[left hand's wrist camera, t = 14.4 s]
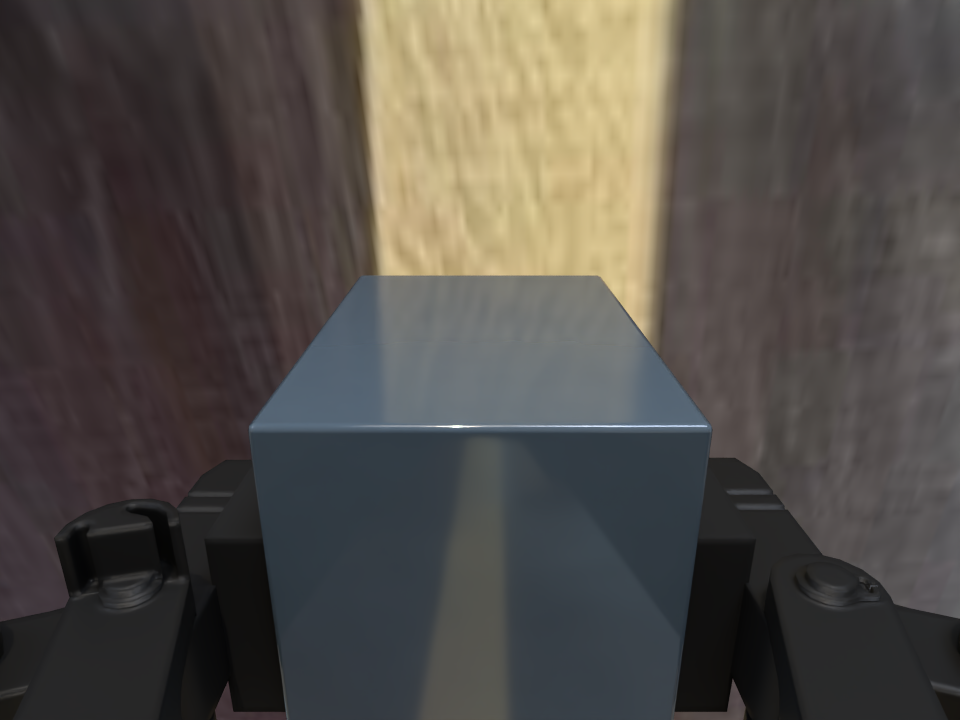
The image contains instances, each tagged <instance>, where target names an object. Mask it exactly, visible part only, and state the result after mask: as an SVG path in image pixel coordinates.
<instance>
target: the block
mask: <svg viewBox="0 0 960 720" xmlns="http://www.w3.org/2000/svg"><path fill="white" fill-rule="evenodd" d="M248 433H249V441H250V448H251V456H252V463H253V470H254V478H255V485H256V493H257V500H258V508H259V515H260V523H261V530H262V537H263V545H264V552H265V560H266V567H267V575H268V582H269V590H270V597H271V604H272V612H273V619H274V627H275V634H276V642H277V649H278V657H279V664H280V671H281V679H282V686H283V694H284V701H285V709H286V716H287V720H674V713H675V705H676V698H677V690H678V683H679V675H680V668H681V661H682V653H683V646H684V638H685V631H686V623H687V616H688V609H689V601H690V594H691V586H692V579H693V571H694V564H695V557H696V549H697V542H698V534H699V527H700V519H701V512H702V505H703V497H704V490H705V482H706V475H707V467H708V460H709V453H710V445H711V438H712V427H711V424H710V423H709V421H708V420H707V419H706V417H705V416H704V415H703V413H702V412H701V411H700V409H699V408H698V407H697V405H696V404H695V403H694V401H693V400H692V399H691V397H690V396H689V395H688V393H687V392H686V391H685V389H684V388H683V387H682V385H681V384H680V383H679V381H678V380H677V379H676V377H675V376H674V375H673V373H672V372H671V371H670V369H669V368H668V367H667V365H666V364H665V363H664V361H663V360H662V359H661V357H660V356H659V355H658V353H657V352H656V351H655V349H654V348H653V347H652V345H651V344H650V343H649V341H648V340H647V339H646V337H645V336H644V334H643V333H642V332H641V330H640V329H639V328H638V326H637V325H636V324H635V322H634V321H633V320H632V318H631V317H630V316H629V314H628V313H627V312H626V310H625V309H624V308H623V306H622V305H621V304H620V302H619V301H618V300H617V298H616V297H615V296H614V294H613V293H612V292H611V290H610V289H609V288H608V286H607V285H606V284H605V282H604V281H603V280H602V278H601V277H599V276H361V277H359V279H358V280H357V281H356V283H355V284H354V285H353V287H352V288H351V289H350V291H349V292H348V293H347V295H346V296H345V298H344V299H343V300H342V302H341V303H340V304H339V306H338V307H337V308H336V310H335V311H334V312H333V314H332V315H331V316H330V318H329V319H328V320H327V322H326V323H325V324H324V326H323V327H322V328H321V330H320V331H319V332H318V334H317V335H316V336H315V338H314V339H313V340H312V342H311V343H310V344H309V346H308V347H307V348H306V350H305V351H304V352H303V354H302V355H301V357H300V358H299V359H298V361H297V362H296V363H295V365H294V366H293V367H292V369H291V370H290V371H289V373H288V374H287V375H286V377H285V378H284V379H283V381H282V382H281V383H280V385H279V386H278V387H277V389H276V390H275V391H274V393H273V394H272V395H271V397H270V398H269V399H268V401H267V402H266V403H265V405H264V406H263V407H262V409H261V410H260V412H259V413H258V414H257V416H256V417H255V418H254V420H253V421H252V422H251V424H250V425H249V429H248Z"/></svg>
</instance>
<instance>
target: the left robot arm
mask: <svg viewBox="0 0 960 720" xmlns="http://www.w3.org/2000/svg"><path fill="white" fill-rule="evenodd" d="M54 539H55V543H56V547H57V551H58V555H59V558H60V562H61V566H62V570H63V574H64V577H65V581H66V585H67V589H68V593H69V596H70V598H69V600H68V602H67V604H66V607H65V608H61V609H58V610H54V611H50V612H45V613H40V614H36V615H31V616H26V617H21V618H17V619H12V620H7V621H2V622H0V720H217V719H216V714H215V709H216V706H217V704H218V702H219V700H220V697H221V695H222V693H223V691H224V688H225V686H226V684H227V682H229V688H230V694H231V699H232V705H233V711H234V712H286V709H285V701H284V694H283V686H282V679H281V671H280V664H279V657H278V649H277V642H276V634H275V627H274V619H273V612H272V604H271V597H270V590H269V582H268V575H267V567H266V560H265V552H264V545H263V537H262V530H261V523H260V515H259V508H258V500H257V493H256V485H255V478H254V470H253V463H252V460H225V461H224V462H222V463H220V464H219V465H217V466H216V467H214V468H213V469H211V470H209V471H208V472H206V473H205V474H203V475H202V476H201V477H200V478H199V480H198V481H197V482H196V484H195V485H194V486H193V488H192V489H191V490H190V491H189V493H188V497H185V498H184V499H183V500H182V502H181V503H180V504H179V506H178V507H177V508H175V507H173V506H172V505H171V504H170V503H168V502H164V501H159V500H155V499H132V500H126V501H122V502H117V503H112V504H108V505H105V506H102V507H100V508H97V509H95V510H92V511H90V512H87V513H85V514H83V515H81V516H80V517H78V518H77V519H75V520H73V521H72V522H70V523H69V524H67V525H66V526H65V527H64V528H63V529H62V530H61V531H60V532H59V533H58V535H57V536H56V537H55V538H54ZM732 679H733V680H734V682H735V684H736V686H737V689H738V691H739V693H740V695H741V697H742V700H743V702H744V704H745V706H746V708H745V714H744V719H743V720H960V619H958V618H953V617H949V616H944V615H939V614H934V613H929V612H924V611H920V610H915V609H910V608H906V607H903V606H899V605H895V604H894V603H893V601H892V599H891V597H890V595H889V594H888V593H887V591H886V590H885V589H884V588H883V586H882V585H881V584H880V582H878V581H877V580H876V579H874V578H873V577H872V576H870V575H869V574H867V573H866V572H865V571H863V570H862V569H860V568H858V567H855V566H853V565H851V564H849V563H846V562H844V561H842V560H840V559H836V558H831V557H827V556H823V555H822V553H821V552H820V551H819V550H818V548H817V547H816V546H815V545H814V543H813V542H812V541H811V539H810V538H809V537H808V536H807V534H806V533H805V532H804V530H803V529H802V528H801V527H800V525H799V524H798V523H797V521H796V520H795V519H794V518H793V516H792V515H791V514H790V512H789V511H788V510H785V508H784V505H783V503H782V502H781V501H780V500H779V498H778V497H777V496H776V495H773V491H772V489H771V488H770V487H769V485H768V484H767V483H766V482H765V480H764V479H763V478H762V476H761V475H760V474H759V473H758V472H756V471H755V470H753V469H752V468H750V467H748V466H747V465H745V464H744V463H742V462H741V461H739V460H737V459H736V458H709V460H708V467H707V475H706V482H705V490H704V497H703V505H702V512H701V519H700V527H699V534H698V542H697V549H696V557H695V564H694V571H693V579H692V586H691V594H690V601H689V609H688V616H687V623H686V631H685V638H684V646H683V653H682V661H681V668H680V675H679V683H678V690H677V698H676V705H675V712H727V708H728V702H729V696H730V690H731V685H732Z"/></svg>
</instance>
